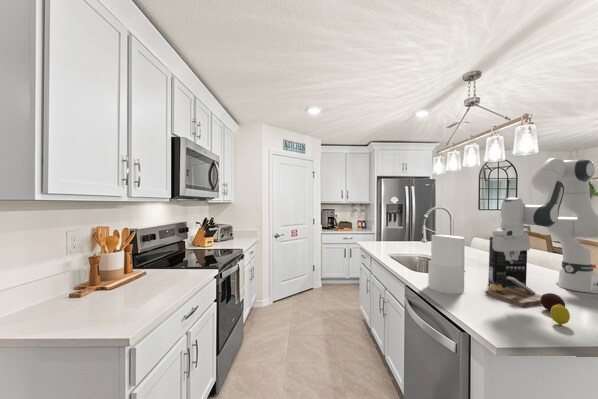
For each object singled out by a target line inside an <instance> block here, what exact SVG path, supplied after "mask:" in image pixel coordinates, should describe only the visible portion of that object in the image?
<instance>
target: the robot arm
mask: <svg viewBox="0 0 598 399" xmlns="http://www.w3.org/2000/svg"><path fill="white" fill-rule="evenodd" d="M594 174H595V165H594V163H593V161H591V160H589V159H567V160H566V159H565V160H563V159H561V158H559V157H557V158H556V157H552V158H549V159H546V160H545V161H544V162H543V163H542V164H541V165H540V166H539V167H538V168H537V170H536V172H535V173H534V174H533V176H532V178H531V184H532V187H533V188H534V189H535V190H536V191H538V192H539V193H543V194H546V195H547V199H546V201H545V203H542V204H526V203H525V202H523V199H522V198H521V197H507V198H505V199H503V200H502V202H501V207H500V217H501V222H500V227H497V228H496V229H494V230H492V235H493V236H492V237H493V249H494V251H498V252H504V254H505V256H506V260H508V261H510V260H512V259H513V260H518V256H519V254H520V251H522V250H527V251H530V249H531V238H530V236H529V233H528V232H527V231H526V230H525V229H524V225H528V226H529V225H530V226H538V227H539V226H540V227H545V228H546V230H547V231H548V233H549V234H551V235H552V236H554V237H555V239H557V240H558V241H559V243H560V244H559V245H560V246H561V249H562V261H561V269H560V270H559V273H558V281H556V282H555V284H556V285H558V287H560V288H563V289H566V290H570V291H576V292H581V293H582V292H583V293H592V294H598V274H597V273H596V272H595V271H594V269H596V268H597V264H593V263H592V251H591V249H590V248H589V247H588V246H587V245H584V244H582V243H580V242H579V241H578V240H577V238H579V239H580V238H582V239H598V214H597V213H596V212H595V210H594V209H593V206H592V203H591V202H592V201H591V191H590V184H589V183H590V182H589V180H590V179H591V178H592V177H594V176H593V175H594ZM561 204H562V207H563V209H566V210H567V211H570V212H572V213H574V214H575V215H576V216H575V217H574V216H559V214H560V213H559V211H560V207H561ZM510 251H514V255H513V256H512V257H510V255H509V253H510ZM511 258H512V259H511Z"/></svg>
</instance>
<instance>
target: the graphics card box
mask: <svg viewBox="0 0 598 399" xmlns="http://www.w3.org/2000/svg"><path fill="white" fill-rule="evenodd" d="M488 251H489V252H488V253H489V255H488V256H489V258H488V279H487V280H488V283H489V284H491V283H498V284H502V287H506V288H514V287H515V288H520V287H519V286H518V285H516V284H515V283H514V282H512V281H511V280H509V279H508V278H507V277H508V276H509V277H513V278H515V279H516V280H518V281H519V282H521V283H522V284H524V285H525V286H527V271H528V270H527V267H528V266H527V265H528V250H522V251H520V254H519V256H518V260H513V259H512V258H511V259H512V260H510V261H508V260H506V256H505V254H504V252H498V251H494V249H493V236H490V237H489V250H488ZM509 255H510V257H512V256H513V255H514V251H510V253H509Z"/></svg>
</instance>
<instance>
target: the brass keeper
mask: <svg viewBox="0 0 598 399" xmlns="http://www.w3.org/2000/svg"><path fill="white" fill-rule="evenodd" d="M489 284H490V283H489ZM489 286H490V287H489V290H492V291H496V292H497V291H505V290H508V288H509V287H507V286H502V284H498V283H491V284H490V285H489Z"/></svg>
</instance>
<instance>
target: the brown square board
mask: <svg viewBox="0 0 598 399" xmlns="http://www.w3.org/2000/svg"><path fill="white" fill-rule="evenodd" d="M507 288H508V290H505V291H497V292H496V291H492V290H490V289H489V290H487V289H486V290H485V295H487V296H490V297H492V298H495V299H497V300H500V301H502V302H503V301H504V302H506V303H509V304H512V305H515V306H518V307H521V308H526V307H534V306H535V307H536V306H543V305H542V304H541V296H542V295H543V294H538V293H536V292H535V294H532V293H529V292H527V291H525V290H524V289H522V288H520V287H507Z"/></svg>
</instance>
